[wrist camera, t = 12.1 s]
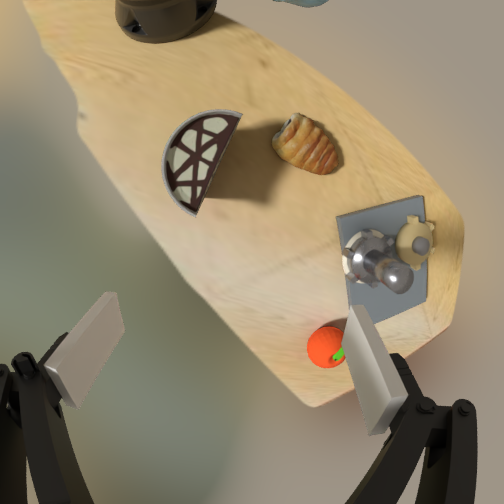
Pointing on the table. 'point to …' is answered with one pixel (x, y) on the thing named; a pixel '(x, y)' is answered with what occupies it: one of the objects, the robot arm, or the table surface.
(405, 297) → the gear board
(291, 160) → the pastry
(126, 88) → the table surface
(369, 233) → the gear
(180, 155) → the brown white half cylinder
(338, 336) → the clementine
